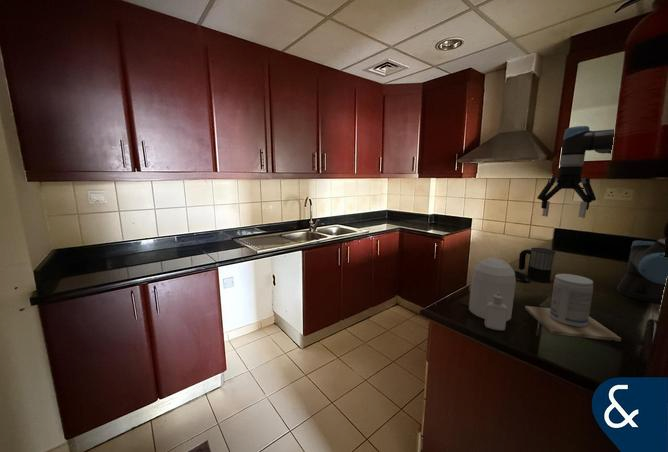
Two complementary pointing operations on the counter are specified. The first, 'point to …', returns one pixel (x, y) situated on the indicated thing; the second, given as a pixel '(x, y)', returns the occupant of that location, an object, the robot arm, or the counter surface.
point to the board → (555, 327)
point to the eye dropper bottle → (496, 313)
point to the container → (491, 285)
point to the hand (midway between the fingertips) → (562, 216)
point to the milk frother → (536, 265)
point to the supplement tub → (571, 299)
